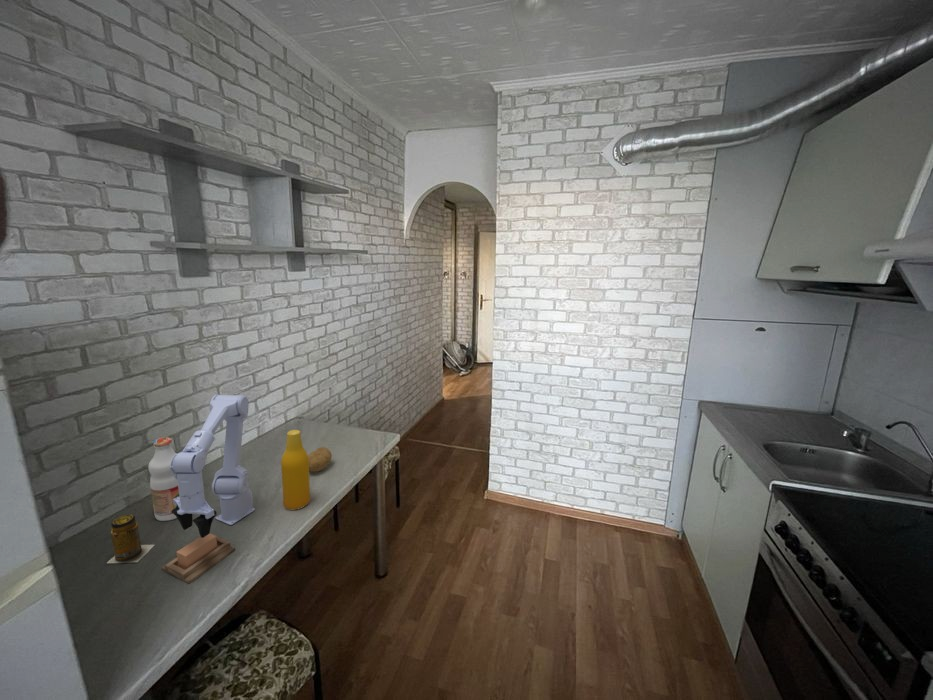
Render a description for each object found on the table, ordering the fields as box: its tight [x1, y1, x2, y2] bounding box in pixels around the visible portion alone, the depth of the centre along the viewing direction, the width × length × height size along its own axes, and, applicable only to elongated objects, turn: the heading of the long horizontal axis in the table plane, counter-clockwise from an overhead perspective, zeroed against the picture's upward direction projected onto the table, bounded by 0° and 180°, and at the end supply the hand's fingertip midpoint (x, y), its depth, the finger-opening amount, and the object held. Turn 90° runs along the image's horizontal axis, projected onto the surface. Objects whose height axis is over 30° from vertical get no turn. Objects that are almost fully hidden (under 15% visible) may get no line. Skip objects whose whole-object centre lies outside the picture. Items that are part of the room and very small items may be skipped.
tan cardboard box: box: [175, 532, 217, 570], centre depth 113 cm, size 9×4×5 cm, turn 159°
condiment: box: [106, 514, 155, 564], centre depth 113 cm, size 7×8×12 cm
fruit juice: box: [147, 437, 179, 522], centre depth 130 cm, size 9×9×28 cm
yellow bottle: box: [280, 429, 311, 510], centre depth 139 cm, size 9×9×29 cm
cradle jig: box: [160, 533, 236, 585], centre depth 114 cm, size 14×12×2 cm
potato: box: [307, 446, 333, 473], centre depth 165 cm, size 10×14×8 cm
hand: (196, 531), depth 112 cm, fingers open, 7 cm apart
